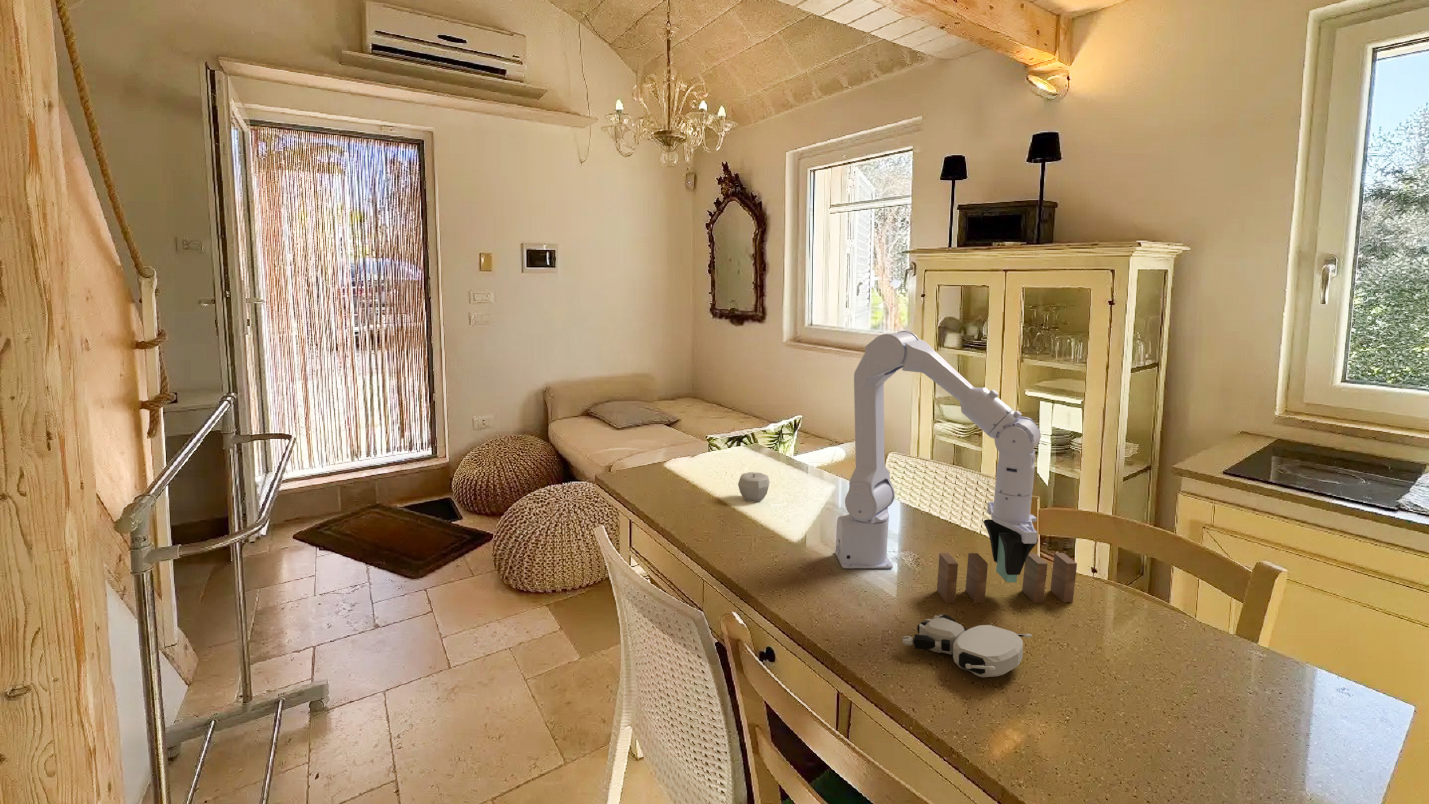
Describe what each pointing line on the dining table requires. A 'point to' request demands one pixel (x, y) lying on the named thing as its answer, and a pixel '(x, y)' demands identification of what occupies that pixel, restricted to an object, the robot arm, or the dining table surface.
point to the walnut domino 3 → (1034, 577)
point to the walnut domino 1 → (947, 577)
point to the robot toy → (971, 645)
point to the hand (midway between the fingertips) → (1006, 567)
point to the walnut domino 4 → (1063, 577)
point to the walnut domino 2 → (976, 577)
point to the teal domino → (1003, 564)
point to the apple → (753, 486)
